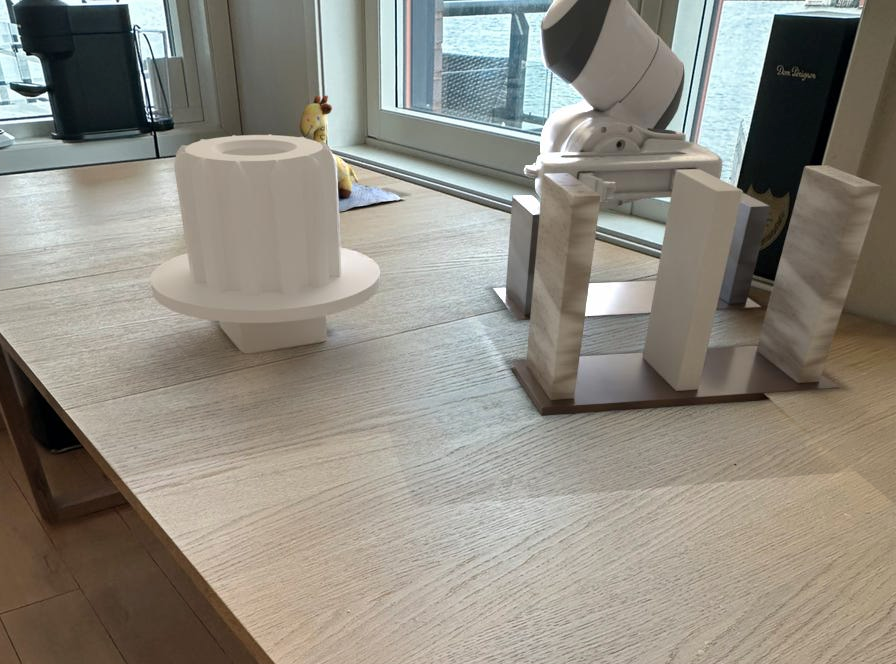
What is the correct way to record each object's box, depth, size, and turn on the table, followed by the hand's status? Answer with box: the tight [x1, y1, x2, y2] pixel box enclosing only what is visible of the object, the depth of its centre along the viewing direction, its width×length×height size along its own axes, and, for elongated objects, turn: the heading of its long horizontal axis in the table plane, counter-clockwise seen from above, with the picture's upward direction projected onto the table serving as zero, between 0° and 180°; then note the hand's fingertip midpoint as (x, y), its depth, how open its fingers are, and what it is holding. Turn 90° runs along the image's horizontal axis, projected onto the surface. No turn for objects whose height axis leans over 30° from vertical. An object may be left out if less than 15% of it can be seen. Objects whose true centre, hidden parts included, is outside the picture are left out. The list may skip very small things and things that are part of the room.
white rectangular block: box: [642, 169, 744, 391], centre depth 83 cm, size 2×9×18 cm, turn 10°
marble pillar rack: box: [509, 164, 882, 416], centre depth 83 cm, size 31×12×19 cm, turn 100°
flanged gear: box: [149, 133, 381, 355], centre depth 93 cm, size 25×25×19 cm
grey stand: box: [492, 192, 771, 321], centre depth 104 cm, size 31×12×12 cm, turn 100°
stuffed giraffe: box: [299, 94, 404, 213], centre depth 145 cm, size 16×18×16 cm
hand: (652, 191), depth 88 cm, fingers open, 8 cm apart
